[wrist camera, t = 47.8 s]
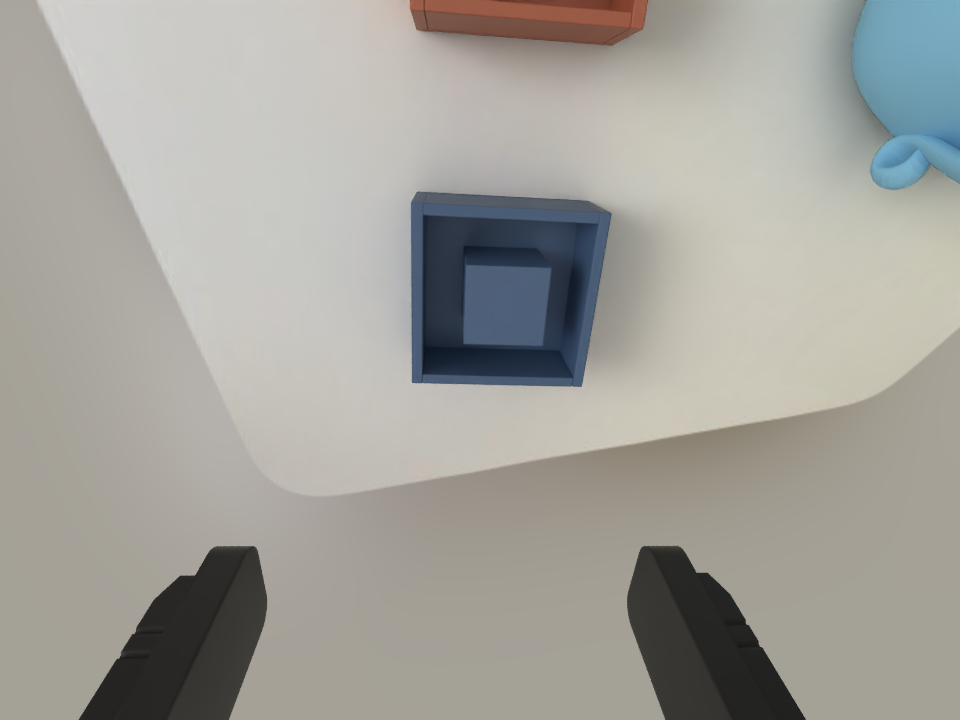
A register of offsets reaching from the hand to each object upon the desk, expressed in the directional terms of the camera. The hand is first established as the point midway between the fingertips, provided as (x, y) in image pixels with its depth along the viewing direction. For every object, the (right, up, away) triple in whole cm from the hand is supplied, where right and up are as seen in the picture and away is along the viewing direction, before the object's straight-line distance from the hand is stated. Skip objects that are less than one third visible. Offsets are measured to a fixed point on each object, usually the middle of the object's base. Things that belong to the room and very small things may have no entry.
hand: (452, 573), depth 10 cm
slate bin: (+2, +10, +20) cm, 22 cm away
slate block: (+2, +9, +20) cm, 22 cm away
